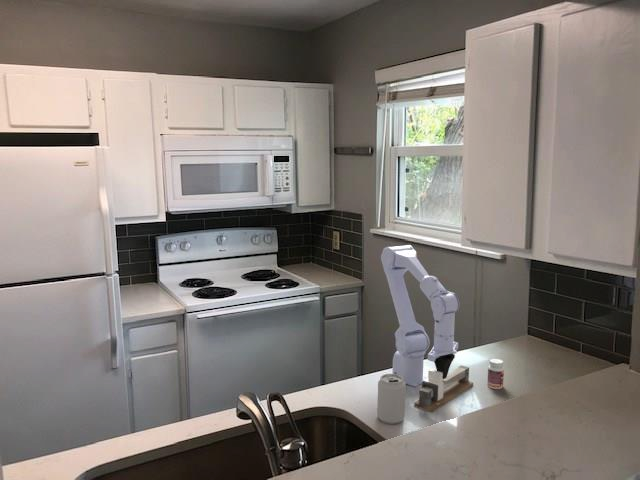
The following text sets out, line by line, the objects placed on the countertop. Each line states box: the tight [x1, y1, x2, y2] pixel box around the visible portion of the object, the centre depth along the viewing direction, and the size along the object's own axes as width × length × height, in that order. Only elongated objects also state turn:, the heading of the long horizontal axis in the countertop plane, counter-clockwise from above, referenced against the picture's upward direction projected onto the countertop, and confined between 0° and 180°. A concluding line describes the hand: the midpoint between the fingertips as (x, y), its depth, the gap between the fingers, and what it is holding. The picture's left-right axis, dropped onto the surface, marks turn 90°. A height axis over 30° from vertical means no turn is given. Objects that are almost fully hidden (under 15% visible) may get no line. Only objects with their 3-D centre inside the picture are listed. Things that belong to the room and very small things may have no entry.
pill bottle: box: [486, 358, 505, 390], centre depth 167 cm, size 5×5×8 cm
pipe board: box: [413, 365, 474, 413], centre depth 161 cm, size 6×25×5 cm, turn 138°
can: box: [376, 373, 407, 425], centre depth 145 cm, size 8×8×12 cm
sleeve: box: [424, 368, 444, 401], centre depth 155 cm, size 5×3×8 cm, turn 48°
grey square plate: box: [421, 381, 438, 402], centre depth 154 cm, size 5×1×5 cm, turn 48°
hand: (442, 377), depth 159 cm, fingers closed
